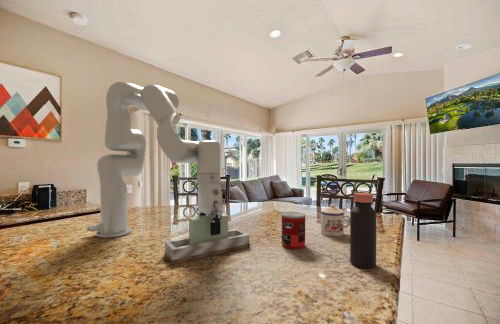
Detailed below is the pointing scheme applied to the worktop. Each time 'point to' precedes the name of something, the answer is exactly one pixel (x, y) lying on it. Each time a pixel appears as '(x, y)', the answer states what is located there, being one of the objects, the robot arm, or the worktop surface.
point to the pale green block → (205, 229)
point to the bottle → (363, 232)
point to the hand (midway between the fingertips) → (209, 230)
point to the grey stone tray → (205, 247)
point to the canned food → (293, 230)
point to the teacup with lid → (333, 221)
